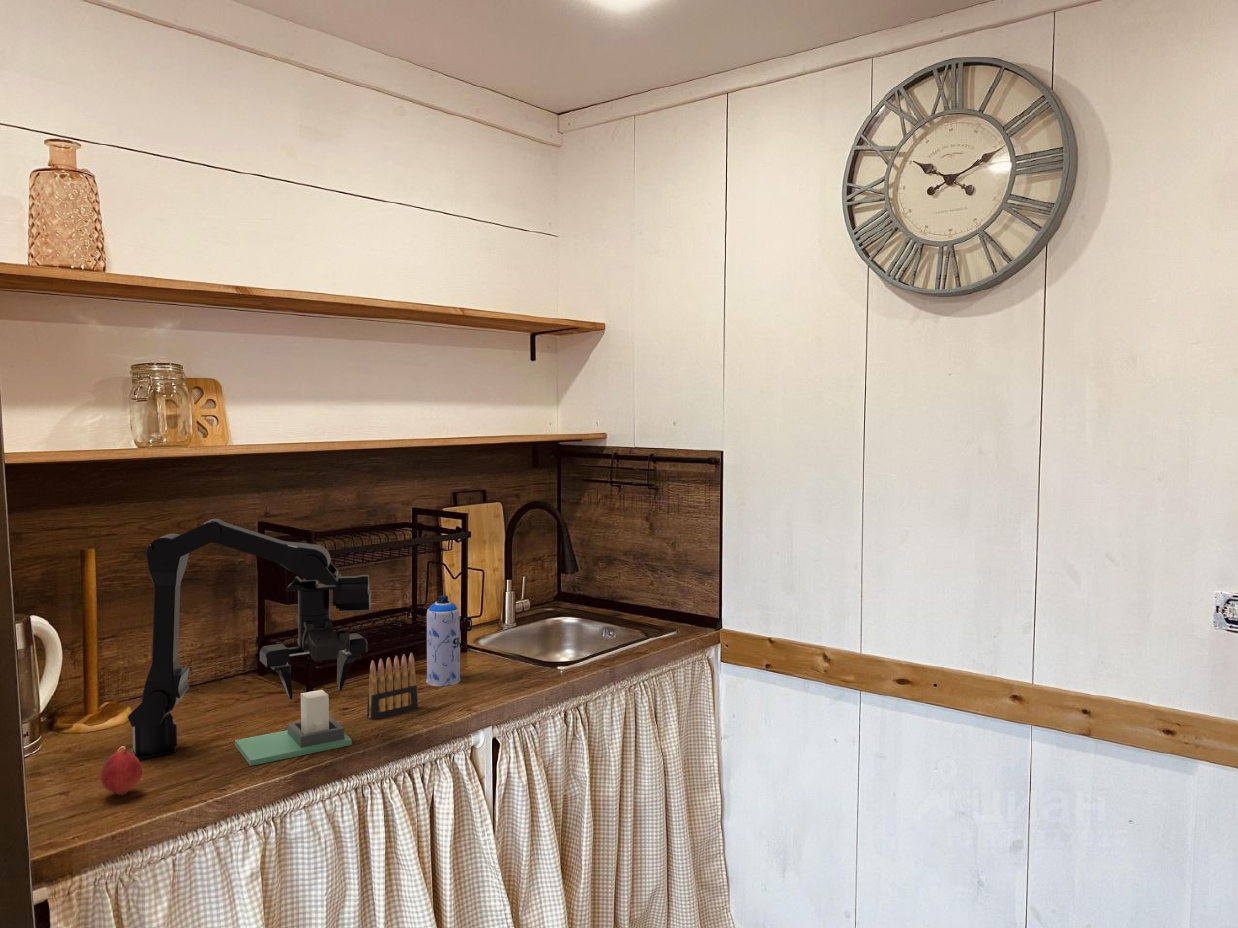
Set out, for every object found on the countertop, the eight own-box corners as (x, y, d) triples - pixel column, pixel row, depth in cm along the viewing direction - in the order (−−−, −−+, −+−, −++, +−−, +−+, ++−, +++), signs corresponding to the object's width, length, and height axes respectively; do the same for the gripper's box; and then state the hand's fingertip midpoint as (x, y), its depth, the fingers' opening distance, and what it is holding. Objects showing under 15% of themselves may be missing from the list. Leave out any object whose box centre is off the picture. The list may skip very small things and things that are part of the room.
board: (250, 765, 158) (250, 749, 157) (235, 745, 167) (234, 729, 167) (351, 744, 168) (351, 729, 168) (331, 726, 178) (331, 711, 178)
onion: (103, 805, 141) (102, 755, 141) (99, 793, 146) (98, 744, 145) (144, 796, 145) (143, 748, 144) (139, 784, 149) (138, 737, 149)
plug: (308, 742, 166) (308, 699, 166) (297, 730, 172) (296, 689, 172) (330, 737, 169) (329, 696, 168) (318, 726, 175) (317, 686, 174)
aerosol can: (454, 686, 204) (454, 600, 203) (421, 685, 205) (421, 599, 204) (464, 677, 212) (464, 593, 211) (432, 675, 213) (432, 592, 212)
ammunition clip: (413, 706, 190) (413, 650, 190) (418, 708, 189) (417, 652, 188) (366, 717, 183) (366, 659, 182) (371, 720, 182) (370, 661, 181)
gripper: (273, 627, 157) (275, 715, 158) (377, 614, 167) (378, 696, 168) (258, 616, 166) (259, 699, 167) (357, 604, 177) (358, 682, 177)
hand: (315, 694), depth 169 cm, fingers open, 9 cm apart
